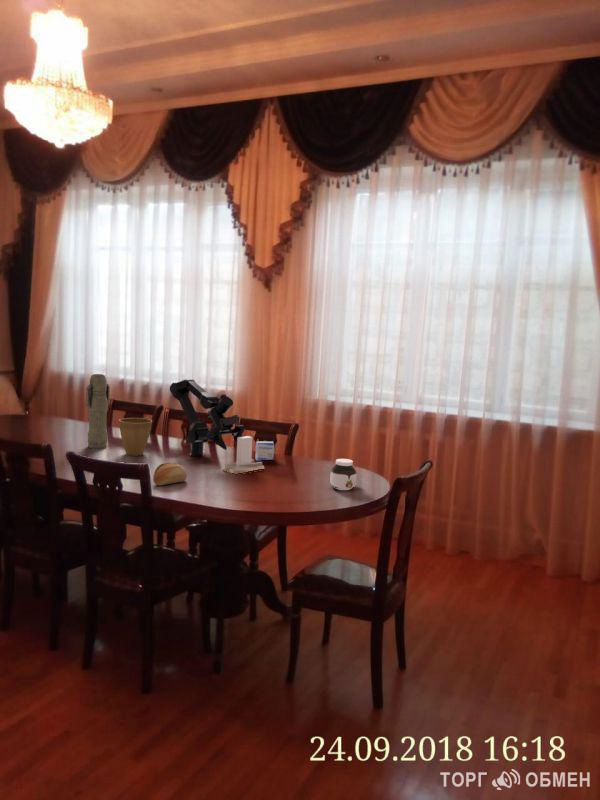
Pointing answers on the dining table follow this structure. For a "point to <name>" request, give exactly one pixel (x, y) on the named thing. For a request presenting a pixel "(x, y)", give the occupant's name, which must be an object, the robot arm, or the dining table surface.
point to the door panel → (244, 450)
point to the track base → (243, 467)
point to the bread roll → (169, 474)
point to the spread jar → (343, 474)
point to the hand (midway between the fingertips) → (234, 448)
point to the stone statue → (97, 410)
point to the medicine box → (264, 450)
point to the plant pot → (135, 434)
